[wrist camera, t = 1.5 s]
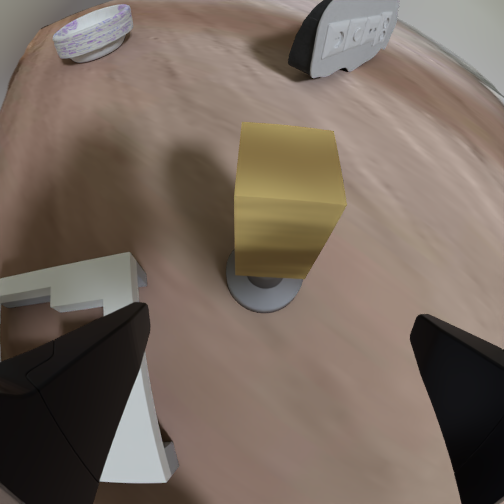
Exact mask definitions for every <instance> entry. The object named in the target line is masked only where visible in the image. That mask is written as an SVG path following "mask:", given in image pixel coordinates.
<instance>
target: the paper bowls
mask: <svg viewBox="0 0 504 504" xmlns="http://www.w3.org/2000/svg"><path fill="white" fill-rule="evenodd" d="M132 28H133V21H132V16H131V9H130V7H129V6H128V5H125V4H121V5H114V6H109V7H106V8H102V9H99V10H96V11H93V12H91V13H88V14H86V15H84V16H82V17H80V18H77V19H75V20H74V21H72V22H70V23H68V24H67V25H65V26H64V27H62V28H61V29H60V30H59V31H57V32H56V33H55V34H54V36H53V41H54V44H55V47H56V50H57V52H58V55H59V57H60V58H71V59H72V60H73V61H74V62H78V63H83V62H88V61H92V60H95V59H98V58H101V57H103V56H105V55H107V54H109V53H111V52H113V51H114V50H116V49H117V48H118V47H119V46H120V45H121V44H122V43H123V41H124V38H125V34H127V33H128V32H129V31H130V30H131V29H132Z"/></svg>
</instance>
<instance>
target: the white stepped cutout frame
mask: <svg viewBox="0 0 504 504" xmlns="http://www.w3.org/2000/svg"><path fill="white" fill-rule="evenodd" d="M143 286H147V278H146V273H145V272H144V270H143V269H142V268H141V266H140V265H139V264H138V262H137V261H136V260H135V258H134V257H133V255H132V254H131V253H130V252H126V253H120V254H115V255H110V256H105V257H100V258H95V259H90V260H85V261H80V262H75V263H70V264H65V265H61V266H56V267H51V268H46V269H42V270H37V271H32V272H28V273H23V274H19V275H14V276H10V277H5V278H1V279H0V322H1V305H3V306H5V307H7V308H12V307H19V306H25V305H32V304H38V303H45V302H50V307H51V308H53V309H55V310H57V311H59V312H61V313H62V312H69V311H76V310H83V309H90V308H97V307H103V309H104V316H106V315H108V314H110V313H112V312H114V311H116V310H118V309H120V308H123V307H125V306H127V305H129V304H131V303H133V302H139V292H138V287H143ZM0 362H1V346H0ZM178 467H179V464H178V460H177V456H176V452H175V449H174V445H173V442H162V438H161V433H160V429H159V425H158V420H157V416H156V411H155V406H154V401H153V396H152V390H151V385H150V379H149V373H148V367H147V361H146V354H145V352H144V356H143V360H142V363H141V367H140V370H139V373H138V376H137V378H136V381H135V383H134V386H133V388H132V391H131V394H130V396H129V399H128V401H127V404H126V407H125V409H124V412H123V415H122V417H121V420H120V423H119V426H118V428H117V431H116V434H115V437H114V440H113V442H112V445H111V448H110V451H109V454H108V457H107V460H106V463H105V466H104V469H103V472H102V475H101V478H100V481H102V482H117V483H167V481H168V480H169V479H170V477H171V476H172V475H173V473H174V472H175V471H176V469H177V468H178Z"/></svg>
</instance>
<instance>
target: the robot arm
mask: <svg viewBox="0 0 504 504" xmlns="http://www.w3.org/2000/svg"><path fill="white" fill-rule="evenodd" d="M149 334H150V318H149V310H148V305H147V304H146V303H142V302H133V303H131V304H129V305H127V306H125V307H123V308H120V309H118V310H116V311H114V312H112V313H110V314H108V315H106V316H103V317H101V318H99V319H97V320H95V321H93V322H91V323H88V324H86V325H84V326H82V327H80V328H78V329H76V330H74V331H72V332H69V333H67V334H65V335H63V336H61V337H59V338H57V339H55V341H54V340H52V341H50V342H48V343H46V344H44V345H42V346H39V347H37V348H35V349H33V350H30V351H28V352H25V353H23V354H20V355H18V356H15V357H13V358H10V359H7V360H5V361H2V362H0V504H93V501H94V498H95V495H96V492H97V488H98V485H99V484H98V483H99V481H100V478H101V475H102V472H103V469H104V466H105V463H106V460H107V457H108V454H109V451H110V448H111V445H112V442H113V440H114V437H115V434H116V431H117V428H118V426H119V423H120V420H121V417H122V415H123V412H124V409H125V407H126V404H127V401H128V399H129V396H130V394H131V391H132V388H133V386H134V383H135V381H136V378H137V376H138V373H139V370H140V367H141V363H142V360H143V356H144V352H145V348H146V345H147V341H148V337H149ZM410 342H411V345H412V348H413V351H414V354H415V358H416V361H417V364H418V368H419V371H420V374H421V377H422V380H423V382H424V385H425V387H426V390H427V392H428V395H429V398H430V400H431V403H432V406H433V408H434V411H435V414H436V417H437V420H438V422H439V425H440V428H441V431H442V434H443V437H444V440H445V444H446V447H447V450H448V453H449V457H450V460H451V463H452V467H453V471H454V472H455V473H454V475H455V479H456V483H457V487H458V491H459V495H460V499H461V504H500V503H501V502H503V501H504V349H503V350H502V348H500V347H498V346H495V345H493V344H491V343H489V342H487V341H485V340H483V339H481V338H479V337H477V336H474V335H472V334H470V333H468V332H466V331H464V330H462V329H460V328H457V327H455V326H453V325H451V324H449V323H447V322H444V321H442V320H440V319H438V318H436V317H434V316H432V315H429V314H420V315H418V316H417V317H416V320H415V323H414V325H413V328H412V331H411V334H410Z"/></svg>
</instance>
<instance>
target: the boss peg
mask: <svg viewBox="0 0 504 504" xmlns="http://www.w3.org/2000/svg"><path fill="white" fill-rule="evenodd" d="M346 206H347V203H346V196H345V190H344V184H343V178H342V172H341V166H340V161H339V156H338V150H337V145H336V140H335V135H334V131H329V130H322V129H315V128H306V127H298V126H288V125H278V124H266V123H251V122H242V127H241V136H240V145H239V154H238V163H237V173H236V183H235V193H234V229H235V249H234V250H233V251H232V253H231V254H230V256H229V259H228V262H227V267H226V276H227V284H228V288H229V291H230V293H231V295H232V296H233V298H234V299H235V300H236V301H237V302H238V303H239V304H240V305H241V306H243V307H244V308H246V309H248V310H250V311H253V312H257V313H271V312H275V311H278V310H280V309H282V308H284V307H286V306H287V305H288V304H289V303H290V302H291V301H292V300H293V299H294V297H295V296H296V294H297V293H298V291H299V289H300V287H301V285H302V282H303V279H305V278H306V276H307V274H308V272H309V271H310V269H311V267H312V266H313V264H314V262H315V261H316V259H317V257H318V255H319V254H320V252H321V250H322V249H323V247H324V245H325V243H326V242H327V240H328V238H329V236H330V235H331V233H332V231H333V229H334V227H335V226H336V224H337V222H338V220H339V218H340V217H341V215H342V213H343V211H344V209H345V207H346Z"/></svg>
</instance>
